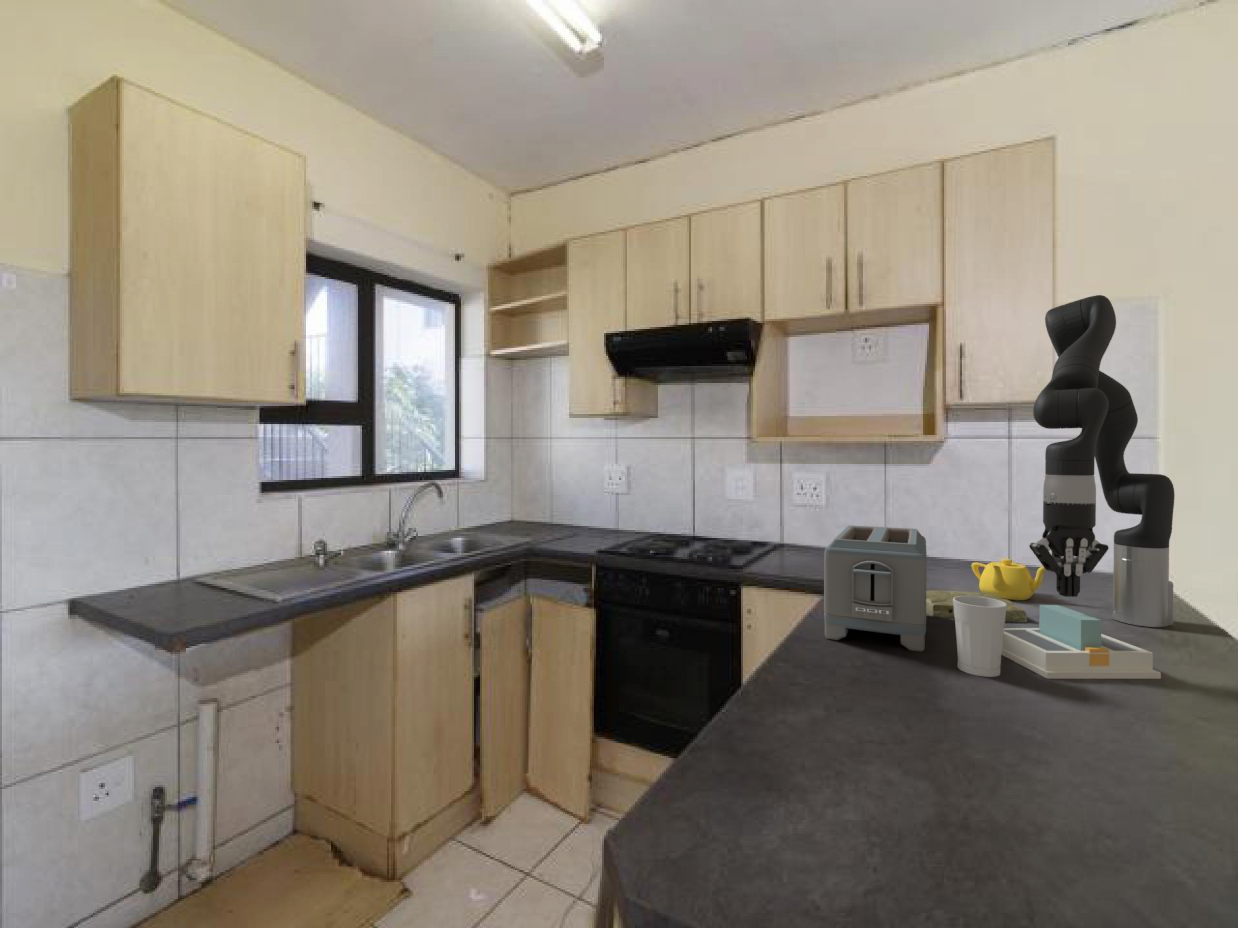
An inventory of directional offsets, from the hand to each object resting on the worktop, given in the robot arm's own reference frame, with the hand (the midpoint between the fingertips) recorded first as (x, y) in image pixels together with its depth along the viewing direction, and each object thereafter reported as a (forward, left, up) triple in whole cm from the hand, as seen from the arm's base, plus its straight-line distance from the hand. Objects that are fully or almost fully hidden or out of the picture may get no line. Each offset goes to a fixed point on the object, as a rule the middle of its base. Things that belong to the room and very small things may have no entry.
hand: (1067, 595), depth 105 cm
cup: (+19, +4, -12) cm, 23 cm away
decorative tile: (-2, -35, -13) cm, 37 cm away
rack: (0, 0, -12) cm, 12 cm away
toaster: (+25, -20, -12) cm, 35 cm away
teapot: (-21, -48, -12) cm, 54 cm away
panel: (0, 0, -11) cm, 11 cm away
